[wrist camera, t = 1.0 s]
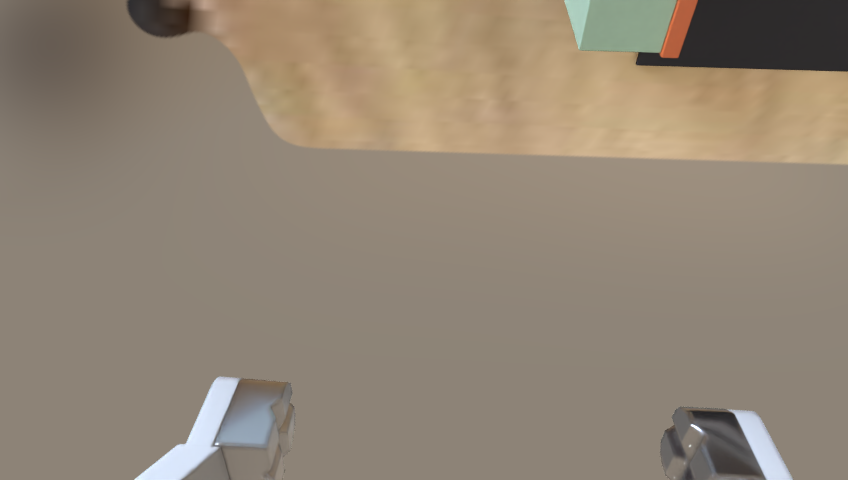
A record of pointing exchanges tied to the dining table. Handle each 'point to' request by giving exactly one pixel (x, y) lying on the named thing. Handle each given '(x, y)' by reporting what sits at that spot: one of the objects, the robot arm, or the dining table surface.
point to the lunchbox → (631, 25)
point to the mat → (763, 36)
